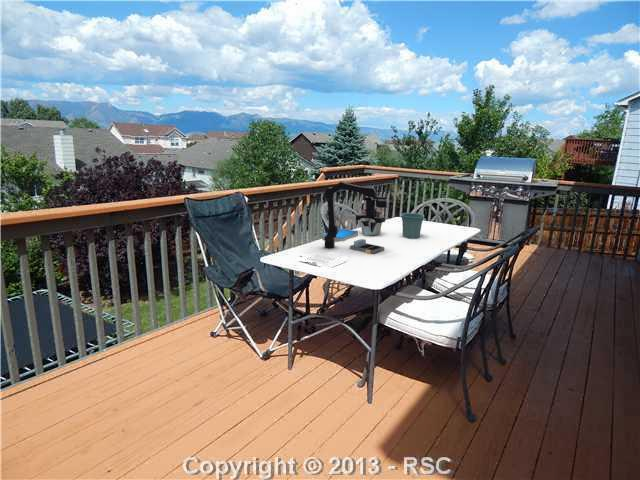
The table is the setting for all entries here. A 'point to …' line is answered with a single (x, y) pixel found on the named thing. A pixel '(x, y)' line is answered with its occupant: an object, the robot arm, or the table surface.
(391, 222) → the table surface
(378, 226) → the grey plant pot
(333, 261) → the tray
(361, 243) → the fitted panel
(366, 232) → the panel
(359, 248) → the rack
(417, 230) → the flower pot
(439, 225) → the table surface
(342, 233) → the book
